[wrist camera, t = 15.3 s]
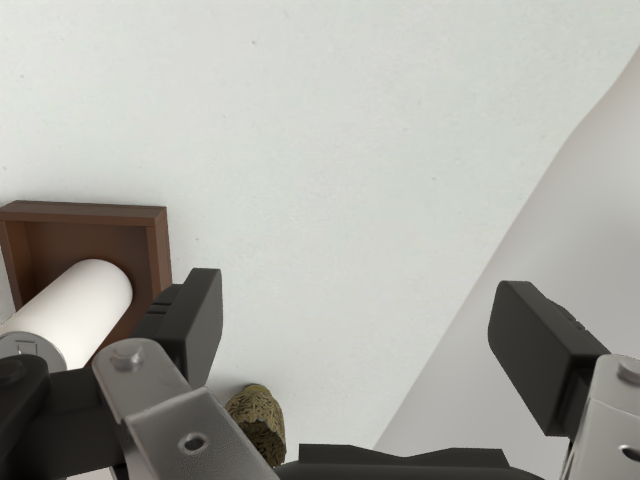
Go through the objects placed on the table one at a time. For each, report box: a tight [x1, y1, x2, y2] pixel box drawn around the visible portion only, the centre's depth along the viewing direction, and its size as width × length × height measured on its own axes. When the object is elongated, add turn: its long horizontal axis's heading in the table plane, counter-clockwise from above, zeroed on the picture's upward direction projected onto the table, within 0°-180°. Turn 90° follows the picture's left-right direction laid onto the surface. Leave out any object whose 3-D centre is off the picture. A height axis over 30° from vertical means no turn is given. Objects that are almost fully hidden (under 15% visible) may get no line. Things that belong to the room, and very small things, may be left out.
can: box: [0, 259, 133, 373], centre depth 37 cm, size 6×6×12 cm
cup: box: [224, 384, 287, 469], centre depth 45 cm, size 8×7×8 cm
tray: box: [0, 200, 172, 368], centre depth 42 cm, size 17×14×3 cm
